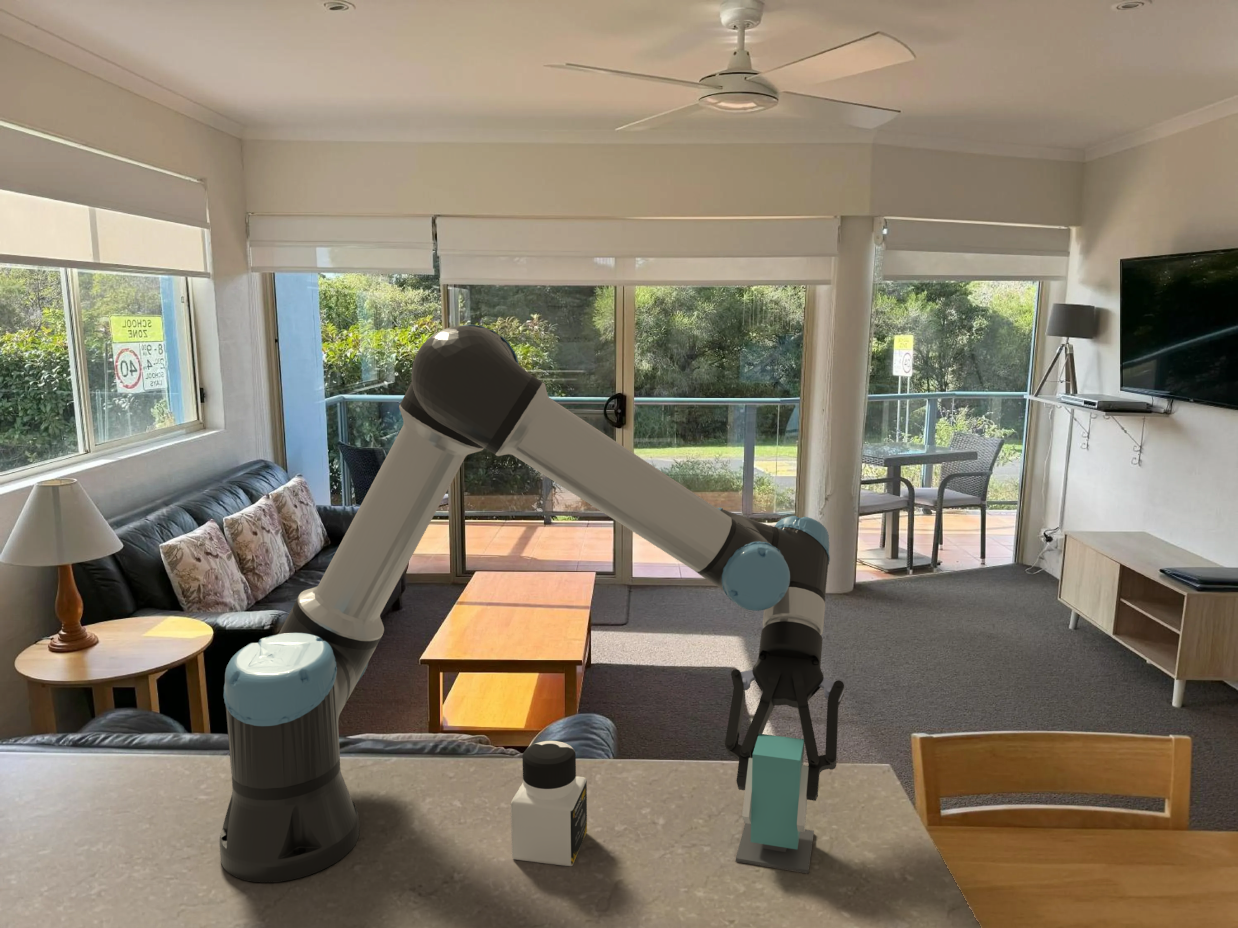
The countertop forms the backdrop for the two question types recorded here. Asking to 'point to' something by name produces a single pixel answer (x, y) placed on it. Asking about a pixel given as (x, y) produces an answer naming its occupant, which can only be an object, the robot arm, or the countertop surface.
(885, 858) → the countertop surface
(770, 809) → the tall teal pillar
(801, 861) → the grey square base plate
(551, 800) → the medicine bottle
